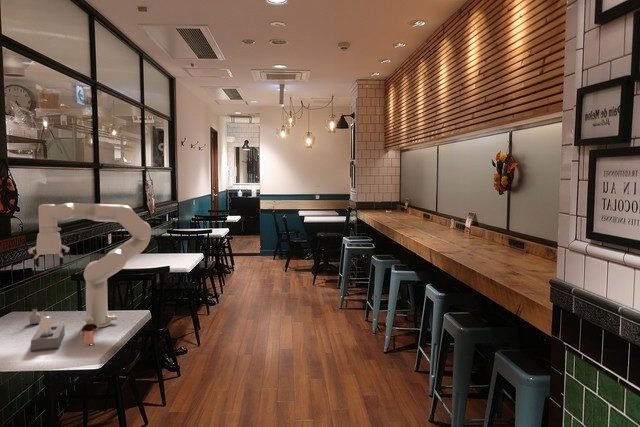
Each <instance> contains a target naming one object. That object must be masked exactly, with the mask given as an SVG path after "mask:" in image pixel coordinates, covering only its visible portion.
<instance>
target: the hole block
mask: <svg viewBox="0 0 640 427" xmlns="http://www.w3.org/2000/svg"><path fill="white" fill-rule="evenodd" d="M65 327H66V326H65V324H55V325H54V324H53V325H52V324H51V337H42V329H41V326H39V327H38V328H37V330H36V332H35V334H33V337H32V338H31V340H30V351H31V353H36V352H37V353H38V352H45V351H56V350H59V349H60V346H61V344H62V343H63V340H64V338H65V336H66V333H65V332H66V331H65Z"/></svg>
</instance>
